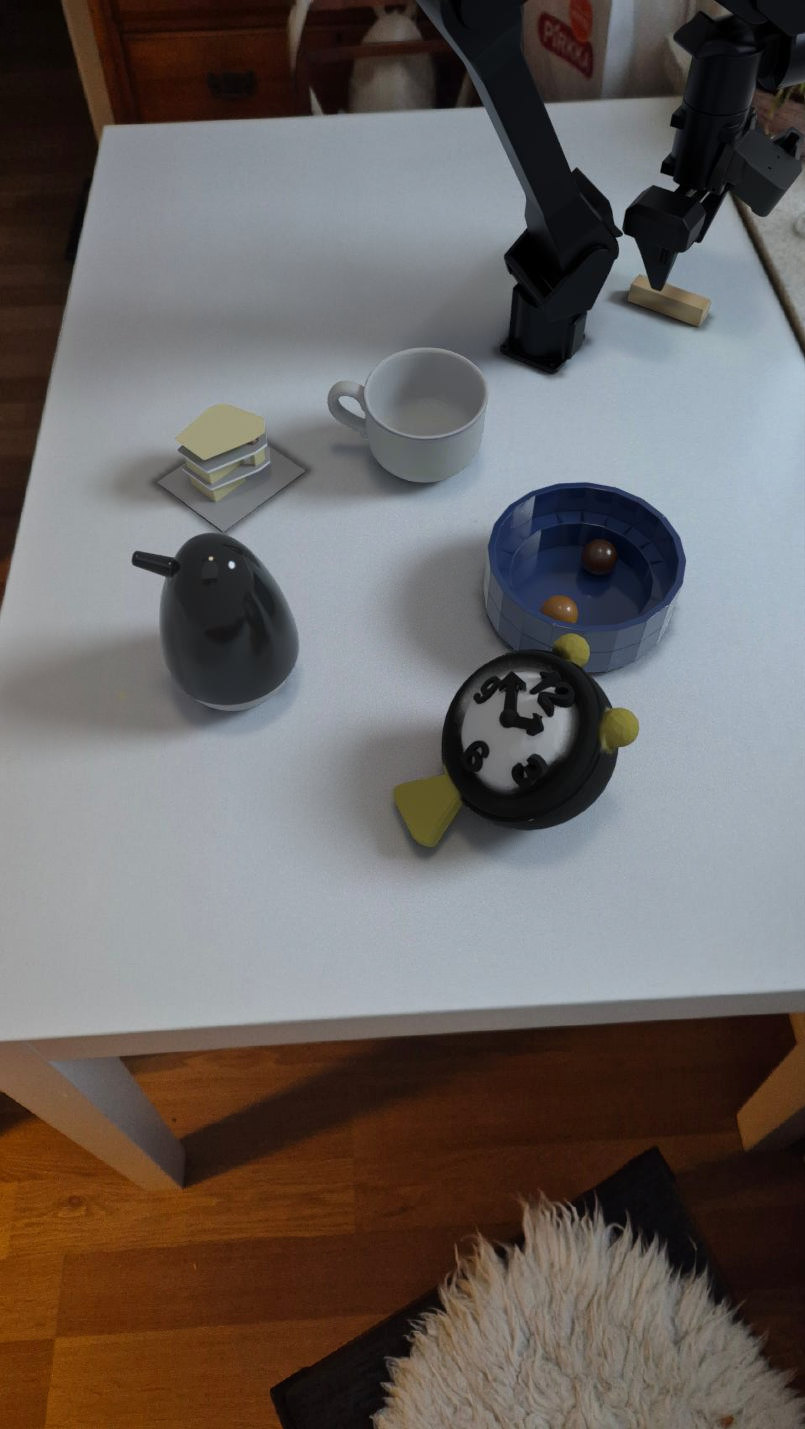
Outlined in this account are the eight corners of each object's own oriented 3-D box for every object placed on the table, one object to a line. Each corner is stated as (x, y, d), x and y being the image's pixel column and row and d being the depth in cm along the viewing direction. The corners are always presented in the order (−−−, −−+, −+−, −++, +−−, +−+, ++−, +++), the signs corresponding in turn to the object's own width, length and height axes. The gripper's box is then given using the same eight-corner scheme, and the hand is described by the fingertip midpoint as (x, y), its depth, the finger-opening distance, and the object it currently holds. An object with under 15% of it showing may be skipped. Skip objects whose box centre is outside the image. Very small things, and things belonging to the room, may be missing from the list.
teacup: (497, 432, 94) (504, 361, 87) (463, 513, 89) (467, 444, 82) (358, 400, 97) (353, 329, 90) (316, 477, 91) (308, 407, 85)
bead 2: (572, 573, 84) (577, 549, 82) (588, 550, 86) (594, 526, 83) (604, 588, 83) (610, 564, 81) (620, 565, 85) (627, 540, 82)
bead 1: (531, 630, 81) (535, 606, 79) (549, 605, 82) (553, 581, 80) (564, 646, 80) (569, 623, 78) (581, 621, 82) (587, 597, 79)
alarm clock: (426, 750, 80) (467, 584, 72) (602, 815, 78) (666, 650, 69) (373, 836, 71) (412, 656, 62) (571, 913, 68) (641, 736, 60)
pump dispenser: (182, 623, 83) (139, 489, 70) (308, 625, 82) (289, 491, 69) (162, 729, 77) (112, 605, 64) (298, 732, 77) (274, 608, 64)
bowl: (449, 623, 82) (451, 576, 77) (539, 508, 89) (547, 457, 84) (617, 708, 78) (631, 663, 73) (698, 579, 85) (717, 530, 79)
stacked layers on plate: (223, 532, 88) (213, 486, 83) (157, 482, 91) (143, 436, 87) (305, 471, 92) (299, 424, 87) (239, 426, 95) (229, 378, 90)
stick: (627, 301, 104) (630, 283, 103) (635, 291, 105) (639, 273, 104) (698, 327, 102) (703, 310, 100) (706, 316, 103) (711, 299, 101)
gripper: (764, 179, 80) (714, 345, 93) (846, 77, 88) (789, 243, 101) (636, 138, 83) (605, 305, 96) (727, 44, 91) (687, 209, 104)
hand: (676, 265), depth 99 cm, fingers open, 9 cm apart
